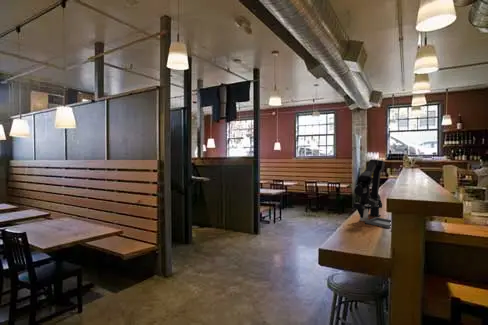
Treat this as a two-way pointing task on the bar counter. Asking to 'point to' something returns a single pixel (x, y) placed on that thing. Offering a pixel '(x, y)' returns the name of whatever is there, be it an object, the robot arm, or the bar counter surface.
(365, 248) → the bar counter surface
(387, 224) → the tray
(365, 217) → the ceramic cup
